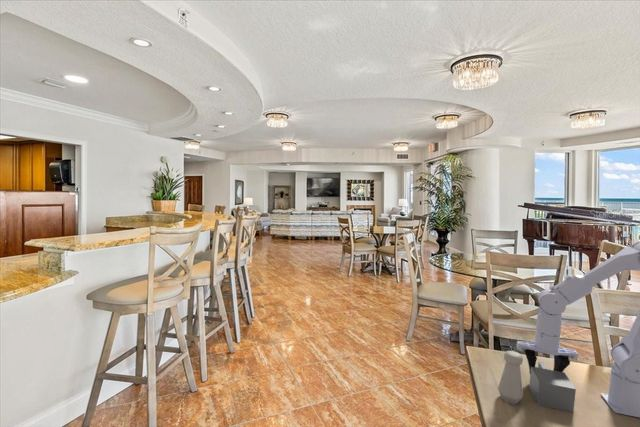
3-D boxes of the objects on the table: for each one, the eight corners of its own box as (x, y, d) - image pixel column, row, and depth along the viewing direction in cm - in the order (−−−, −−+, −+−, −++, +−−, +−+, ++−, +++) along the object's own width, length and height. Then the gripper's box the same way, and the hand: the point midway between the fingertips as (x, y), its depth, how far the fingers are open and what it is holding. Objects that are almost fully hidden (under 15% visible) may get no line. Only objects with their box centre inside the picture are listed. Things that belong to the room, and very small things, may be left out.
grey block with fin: (573, 412, 85) (575, 389, 84) (537, 404, 87) (539, 381, 87) (555, 381, 98) (557, 361, 97) (524, 375, 100) (525, 356, 100)
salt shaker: (525, 408, 86) (530, 360, 84) (501, 404, 87) (505, 357, 86) (517, 394, 91) (521, 349, 90) (494, 391, 92) (498, 346, 91)
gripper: (572, 330, 96) (568, 375, 97) (515, 322, 101) (512, 364, 102) (582, 341, 89) (577, 389, 90) (521, 332, 94) (517, 377, 95)
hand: (543, 377), depth 96 cm, fingers open, 5 cm apart
